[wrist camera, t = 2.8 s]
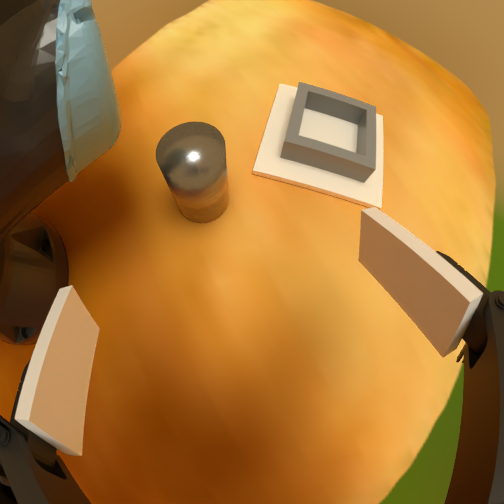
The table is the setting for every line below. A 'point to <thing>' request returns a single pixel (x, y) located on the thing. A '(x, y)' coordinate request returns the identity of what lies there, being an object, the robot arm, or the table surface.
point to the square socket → (324, 144)
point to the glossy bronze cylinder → (195, 169)
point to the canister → (4, 481)
